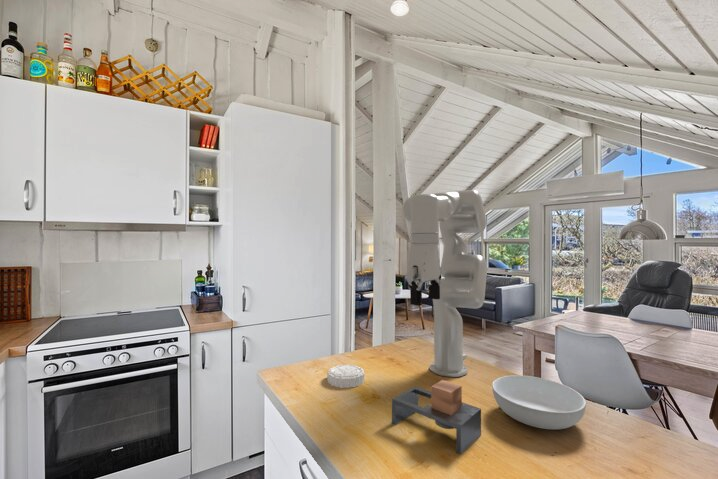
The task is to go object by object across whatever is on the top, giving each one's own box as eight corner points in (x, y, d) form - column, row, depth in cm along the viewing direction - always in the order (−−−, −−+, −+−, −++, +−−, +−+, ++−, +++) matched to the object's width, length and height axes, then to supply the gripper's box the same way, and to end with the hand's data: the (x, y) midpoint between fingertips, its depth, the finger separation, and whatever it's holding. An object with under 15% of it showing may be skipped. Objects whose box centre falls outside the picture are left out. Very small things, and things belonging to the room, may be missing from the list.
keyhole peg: (442, 414, 83) (442, 379, 83) (462, 422, 79) (462, 385, 79) (430, 423, 79) (430, 386, 79) (451, 431, 76) (451, 393, 76)
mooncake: (371, 384, 107) (371, 373, 107) (335, 391, 102) (335, 379, 102) (355, 371, 118) (355, 361, 118) (322, 377, 113) (322, 366, 113)
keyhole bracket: (392, 423, 84) (392, 398, 84) (415, 409, 91) (415, 386, 91) (460, 454, 71) (460, 425, 71) (481, 435, 79) (481, 408, 79)
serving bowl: (533, 449, 73) (533, 416, 74) (475, 404, 94) (475, 379, 94) (608, 434, 79) (608, 404, 79) (538, 395, 99) (538, 371, 99)
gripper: (428, 238, 103) (429, 295, 104) (395, 241, 90) (396, 305, 91) (451, 238, 98) (452, 298, 99) (420, 241, 85) (421, 309, 86)
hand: (425, 301), depth 95 cm, fingers open, 9 cm apart
